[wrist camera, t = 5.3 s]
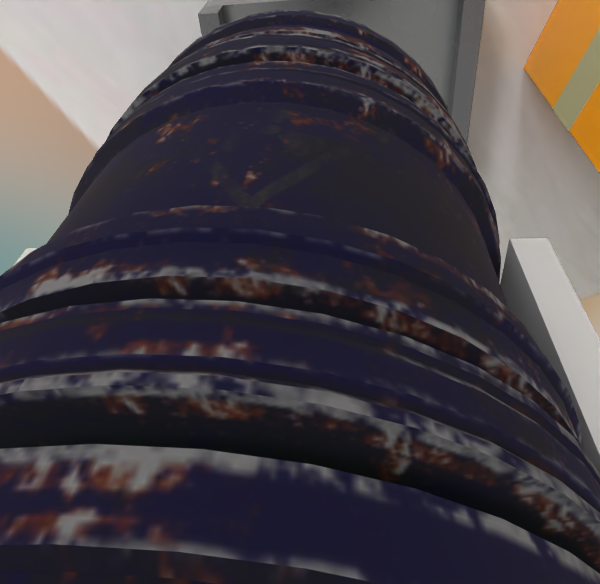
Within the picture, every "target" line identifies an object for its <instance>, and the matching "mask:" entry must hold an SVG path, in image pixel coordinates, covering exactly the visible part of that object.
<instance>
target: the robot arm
mask: <svg viewBox="0 0 600 584" xmlns="http://www.w3.org/2000/svg"><path fill="white" fill-rule="evenodd" d="M35 249H38V248H27V249H26V250H25V251H24V253H23V254H22V255H21V256H20V258H19V259H18V260H17V261H16V263H18V262H19V261H20V260H21V259H23V258H24V257H25V256H27V255H28V254H29V253H30V252H32V251H33V250H35ZM16 263H15V264H16ZM15 264H14V265H15ZM14 265H13V266H14ZM500 287H501V290H502V293H503V296H504V298H505V301H506V304H507V307H508V309H509V310H510V311H511V312H512V313H513V314H514V315H515V316H516V317H517V318H518V319H519V320H520V321H521V322H522V323H523V324H524V325H525V327H526V328H527V330H528V331H529V333H530V334H531V336H532V338H533V339H534V341H535V342H536V344H537V345H538V347H539V348H540V350H541V351H542V353H543V354H544V355H545V356H546V358H547V359H548V361H549V362H550V364H551V365H552V367H553V369H554V370H555V372H556V373H557V375H558V376H559V378H560V379H561V381H562V382H563V384H564V385H565V387H566V388H567V390H568V391H569V393H570V396H571V399H572V402H573V405H574V408H575V411H576V414H577V417H578V420H579V423H580V426H581V443H582V449H583V451H584V452H585V453H586V455H587V456H588V458H589V459H590V461H591V462H592V464H593V465H594V466H595V468H596V469H597V471H598V472H599V474H600V339H599V338H598V335H597V334H596V332H595V330H594V328H593V326H592V324H591V322H590V320H589V318H588V316H587V314H586V312H585V310H584V308H583V306H582V304H581V302H580V300H579V298H578V296H577V294H576V293H575V291H574V289H573V287H572V285H571V283H570V281H569V279H568V277H567V275H566V273H565V271H564V269H563V267H562V265H561V263H560V261H559V259H558V257H557V255H556V254H555V252H554V250H553V248H552V246H551V244H550V242H549V240H548V238H511V239H510V240H509V245H508V250H507V254H506V259H505V264H504V269H503V274H502V279H501V283H500Z"/></svg>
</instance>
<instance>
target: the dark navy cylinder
mask: <svg viewBox="0 0 600 584" xmlns="http://www.w3.org/2000/svg"><path fill="white" fill-rule="evenodd" d="M500 265H501V256H500V249H499V234H498V227H497V220H496V213H495V210H494V207H493V204H492V202H491V199H490V196H489V193H488V191H487V188H486V185H485V183H484V181H483V180H482V178H481V176H480V175H479V173H478V172H477V169H476V166H475V163H474V161H473V158H472V156H471V153H470V151H469V148H468V146H467V143H466V141H465V139H464V138H463V136H462V134H461V132H460V131H459V129H458V127H457V126H456V124H455V122H454V120H453V119H452V117H451V115H450V114H449V112H448V109H447V107H446V104H445V102H444V100H443V98H442V97H441V95H440V93H439V92H438V90H437V88H436V86H435V85H434V83H433V81H432V80H431V78H430V77H429V76H428V75H427V74H426V72H425V71H424V70H423V69H422V68H421V67H420V65H419V64H418V63H417V62H416V61H415V60H414V58H413V57H411V56H410V55H409V54H408V53H406V52H405V51H404V50H403V49H402V48H400V47H399V46H398V45H397V44H396V43H394V42H393V41H392V40H390V39H389V38H387V37H385V36H383V35H382V34H380V33H378V32H376V31H375V30H373V29H371V28H369V27H368V26H366V25H363V24H360V23H358V22H355V21H352V20H349V19H346V18H344V17H341V16H338V15H333V14H327V13H321V12H316V11H310V10H275V11H269V12H264V13H258V14H253V15H247V16H245V17H242V18H239V19H237V20H234V21H231V22H229V23H226V24H223V25H221V26H219V27H217V28H215V29H214V30H212V31H210V32H209V33H207V34H205V35H204V36H202V37H200V38H199V39H197V40H196V41H195V42H193V43H192V44H191V45H190V46H189V47H188V48H186V49H185V50H184V51H183V52H182V53H181V54H180V55H178V56H177V57H176V58H175V60H174V61H173V62H172V63H171V65H170V66H169V67H168V68H167V69H166V70H165V71H164V72H163V73H162V74H160V75H159V76H158V77H157V78H156V79H155V80H154V81H152V82H151V83H150V84H149V85H148V86H147V87H146V88H144V90H143V91H142V92H141V93H140V94H139V96H138V97H137V98H136V99H135V100H134V102H133V103H132V104H131V105H130V106H129V108H128V109H127V110H126V112H125V113H124V114H123V115H122V117H121V118H120V119H119V121H118V122H117V123H116V124H115V126H114V127H113V128H112V130H111V132H110V134H109V136H108V138H107V140H106V142H105V143H104V144H103V145H102V147H101V148H100V149H99V150H98V151H97V153H96V154H95V157H94V158H93V160H92V162H91V163H90V164H89V165H88V167H87V168H86V170H85V172H84V174H83V177H82V178H81V180H80V182H79V184H78V186H77V188H76V190H75V192H74V195H73V198H72V202H71V206H70V210H69V214H68V216H67V217H66V219H65V220H64V221H63V223H62V224H61V225H60V227H59V228H58V229H57V231H56V232H55V233H54V235H53V236H52V237H51V238H50V240H49V241H48V243H47V244H46V245H44V246H42V247H40V248H38V249H35V250H33V251H32V252H30V253H29V254H28V255H27V256H25V257H24V258H23V259H21V260H20V261H19V262H18V263H16V264H15V265H14V266H12V267H11V268H10V269H9V270H8V271H6V272H5V273H4V274H2V275H1V276H0V584H600V474H599V472H598V471H597V469H596V468H595V466H594V465H593V464H592V462H591V461H590V459H589V458H588V456H587V455H586V453H585V452H584V451H583V449H582V443H581V426H580V423H579V420H578V417H577V414H576V411H575V408H574V405H573V402H572V399H571V396H570V393H569V391H568V390H567V388H566V387H565V385H564V384H563V382H562V381H561V379H560V378H559V376H558V375H557V373H556V372H555V370H554V369H553V367H552V365H551V364H550V362H549V361H548V359H547V358H546V356H545V355H544V354H543V353H542V351H541V350H540V348H539V347H538V345H537V344H536V342H535V341H534V339H533V338H532V336H531V334H530V333H529V331H528V330H527V328H526V327H525V325H524V324H523V323H522V322H521V321H520V320H519V319H518V318H517V317H516V316H515V315H514V314H513V313H512V312H511V311H510V310H509V309H508V307H507V304H506V301H505V298H504V296H503V293H502V290H501V287H500V284H499V279H500Z"/></svg>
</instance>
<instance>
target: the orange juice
mask: <svg viewBox="0 0 600 584" xmlns="http://www.w3.org/2000/svg"><path fill="white" fill-rule="evenodd" d="M524 69H525V70H526V72H527V73H528V75H529V76H530V77H531V79H532V80H533V81H534V83H535V84H536V86H537V87H538V88H539V90H540V91H541V93H542V94H543V95H544V97H545V98H546V99H547V101H548V102H549V104H550V105H551V106H552V108H553V109H552V110H553V111H554V113H555V114H556V116H557V117H558V118H559V120H560V121H561V123H562V124H563V125H564V127H565V128H566V129H567V131H568V132H570V133H571V134H572V135H573V137H574V138H575V140H576V141H577V142H578V144H579V145H580V147H581V148H582V149H583V151H584V152H585V153H586V155H587V156H588V158H589V159H590V160H591V162H592V163H593V165H594V166H595V167H596V169H597V170H598V172H599V173H600V0H558V2H557V4H556V6H555V8H554V10H553V12H552V14H551V16H550V18H549V20H548V22H547V23H546V25H545V27H544V29H543V31H542V33H541V35H540V37H539V39H538V41H537V43H536V45H535V47H534V49H533V51H532V53H531V55H530V56H529V58H528V60H527V62H526V64H525V66H524Z"/></svg>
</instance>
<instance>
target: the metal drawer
mask: <svg viewBox="0 0 600 584" xmlns="http://www.w3.org/2000/svg"><path fill="white" fill-rule="evenodd" d="M484 7H485V0H208V2H207V3H206V4H205V6H204V7H203V8H202V10H201V11H200V12H199V14H198V16H199V22H200V27H201V33H202V36H204V35H205V34H207V33H209V32H210V31H212V30H214V29H215V28H217V27H219V26H221V25H223V24H226V23H229V22H231V21H234V20H237V19H239V18H242V17H245V16H247V15H253V14H258V13H264V12H269V11H275V10H310V11H316V12H321V13H327V14H333V15H338V16H341V17H344V18H346V19H349V20H352V21H355V22H358V23H360V24H363V25H366V26H368V27H369V28H371V29H373V30H375V31H376V32H378V33H380V34H382V35H383V36H385V37H387V38H389V39H390V40H392V41H393V42H394V43H396V44H397V45H398V46H399V47H400V48H402V49H403V50H404V51H405V52H406V53H408V54H409V55H410V56H411V57H413V58H414V60H415V61H416V62H417V63H418V64H419V65H420V67H421V68H422V69H423V70H424V71H425V72H426V74H427V75H428V76H429V77H430V78H431V80H432V81H433V83H434V85H435V86H436V88H437V90H438V92H439V93H440V95H441V97H442V98H443V100H444V102H445V104H446V107H447V109H448V112H449V114H450V115H451V117H452V119H453V120H454V122H455V124H456V126H457V127H458V129H459V131H460V132H461V134H462V136H463V138H464V139H465V141H466V143H467V139H468V131H469V124H470V116H471V108H472V100H473V93H474V85H475V77H476V69H477V61H478V54H479V46H480V38H481V30H482V23H483V15H484Z"/></svg>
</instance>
